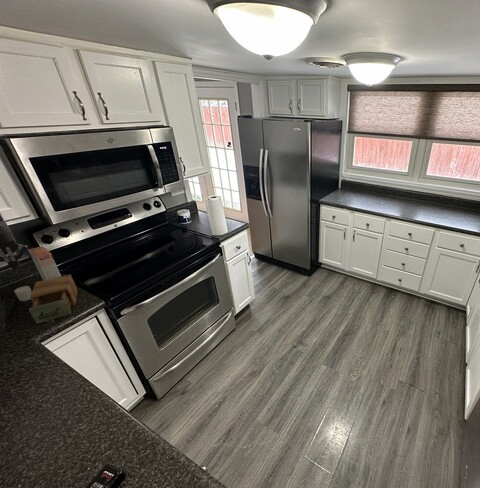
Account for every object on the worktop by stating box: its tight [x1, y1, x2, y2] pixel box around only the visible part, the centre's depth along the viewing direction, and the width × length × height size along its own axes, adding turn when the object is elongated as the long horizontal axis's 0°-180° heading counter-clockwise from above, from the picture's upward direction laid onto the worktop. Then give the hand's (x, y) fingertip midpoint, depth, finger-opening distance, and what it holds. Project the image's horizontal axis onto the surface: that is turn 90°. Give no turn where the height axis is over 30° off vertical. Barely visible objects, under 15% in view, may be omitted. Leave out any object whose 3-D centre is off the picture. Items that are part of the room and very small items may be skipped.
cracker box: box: [27, 245, 62, 281], centre depth 136 cm, size 14×6×21 cm, turn 56°
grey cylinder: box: [13, 285, 33, 302], centre depth 130 cm, size 5×5×6 cm
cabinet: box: [30, 273, 78, 306], centre depth 127 cm, size 15×13×10 cm
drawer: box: [28, 290, 73, 325], centre depth 119 cm, size 18×11×8 cm, turn 37°
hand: (16, 268), depth 115 cm, fingers closed
